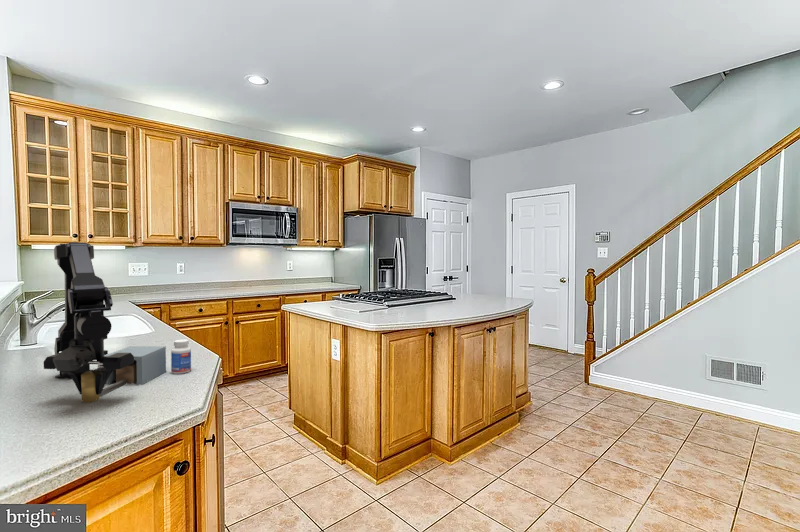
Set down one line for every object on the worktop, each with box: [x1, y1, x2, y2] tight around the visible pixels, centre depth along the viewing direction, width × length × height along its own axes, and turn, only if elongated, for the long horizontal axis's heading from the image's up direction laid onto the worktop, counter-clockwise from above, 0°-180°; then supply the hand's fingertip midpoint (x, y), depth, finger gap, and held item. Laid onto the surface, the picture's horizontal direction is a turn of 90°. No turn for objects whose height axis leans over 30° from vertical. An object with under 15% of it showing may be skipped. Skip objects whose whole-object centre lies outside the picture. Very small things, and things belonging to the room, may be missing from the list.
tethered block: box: [81, 361, 137, 404], centre depth 107 cm, size 5×19×7 cm, turn 1°
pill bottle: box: [170, 338, 192, 375], centre depth 123 cm, size 6×5×10 cm
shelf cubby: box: [104, 345, 167, 386], centre depth 116 cm, size 11×12×8 cm
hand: (90, 394), depth 99 cm, fingers closed on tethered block, 4 cm apart
